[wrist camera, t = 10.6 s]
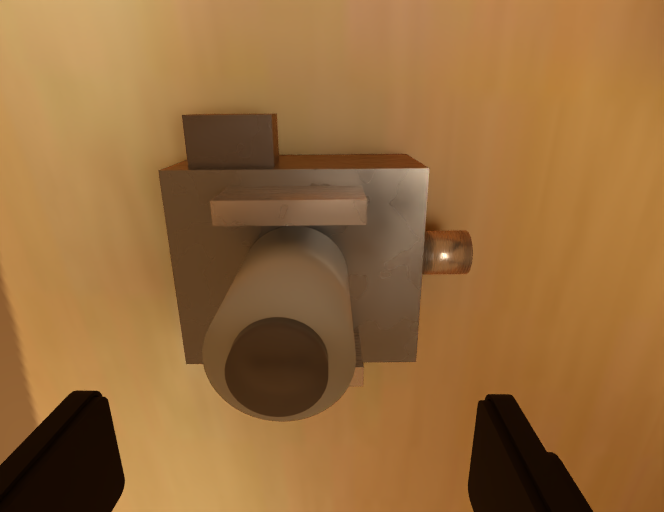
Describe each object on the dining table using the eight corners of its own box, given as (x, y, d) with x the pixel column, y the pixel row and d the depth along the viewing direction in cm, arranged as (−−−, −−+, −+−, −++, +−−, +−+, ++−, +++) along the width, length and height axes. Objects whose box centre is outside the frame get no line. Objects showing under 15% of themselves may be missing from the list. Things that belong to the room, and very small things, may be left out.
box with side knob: (461, 111, 24) (536, 113, 15) (443, 309, 28) (494, 398, 19) (193, 113, 24) (116, 117, 15) (215, 311, 28) (165, 401, 19)
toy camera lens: (349, 226, 19) (360, 303, 12) (346, 321, 21) (354, 439, 14) (240, 224, 19) (186, 301, 12) (246, 320, 21) (202, 438, 14)
